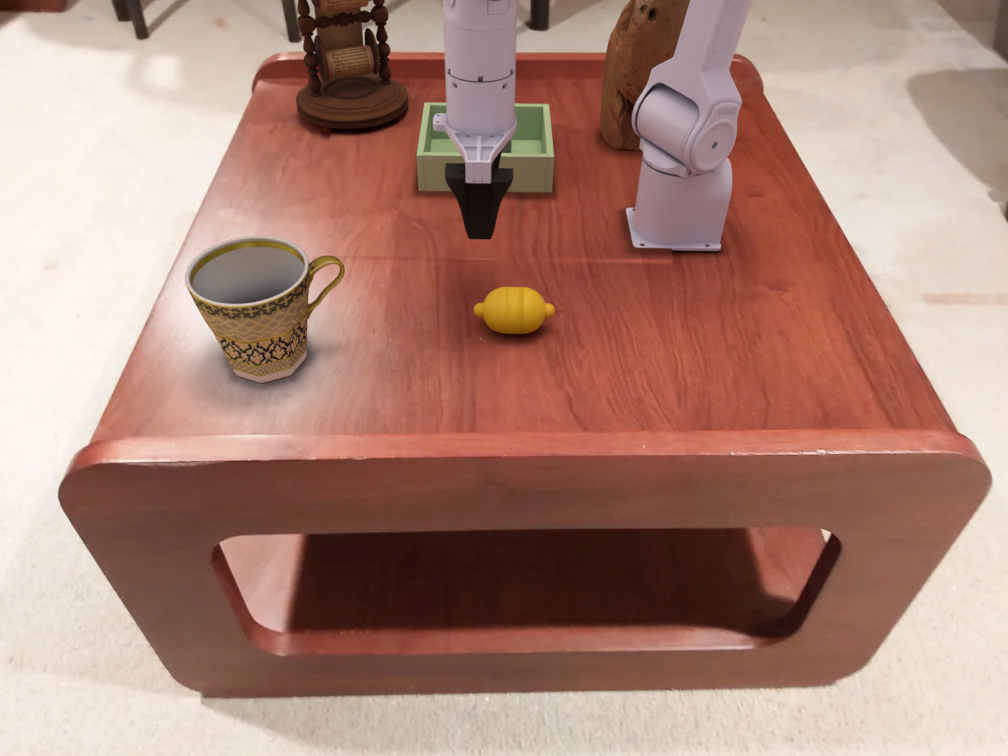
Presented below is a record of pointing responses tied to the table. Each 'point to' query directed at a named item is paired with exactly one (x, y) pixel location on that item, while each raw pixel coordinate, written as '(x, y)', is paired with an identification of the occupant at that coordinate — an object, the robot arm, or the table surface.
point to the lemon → (514, 310)
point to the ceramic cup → (258, 302)
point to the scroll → (347, 67)
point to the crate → (526, 157)
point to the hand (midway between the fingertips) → (481, 213)
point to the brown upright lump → (636, 62)
